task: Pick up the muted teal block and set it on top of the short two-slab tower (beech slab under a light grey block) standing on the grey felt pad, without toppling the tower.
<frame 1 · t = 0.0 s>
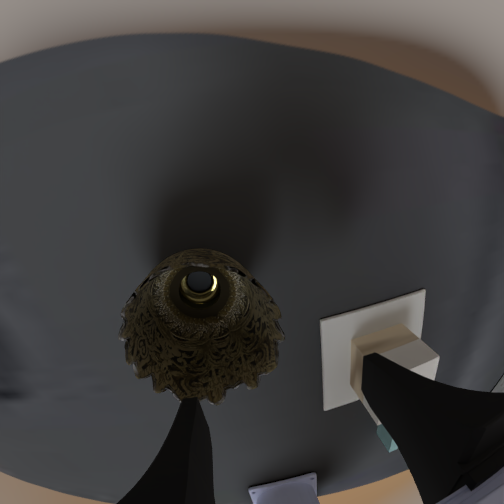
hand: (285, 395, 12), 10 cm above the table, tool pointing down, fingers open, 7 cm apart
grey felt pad: (374, 353, 25), on the table
teal block: (397, 410, 29), on the table
light grey block: (391, 372, 22), point 3 cm above the table, touching beech slab
skincare box: (500, 385, 34), on the table
beech slab: (376, 354, 25), resting on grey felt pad, touching light grey block
olive lace dome: (199, 279, 21), on the table
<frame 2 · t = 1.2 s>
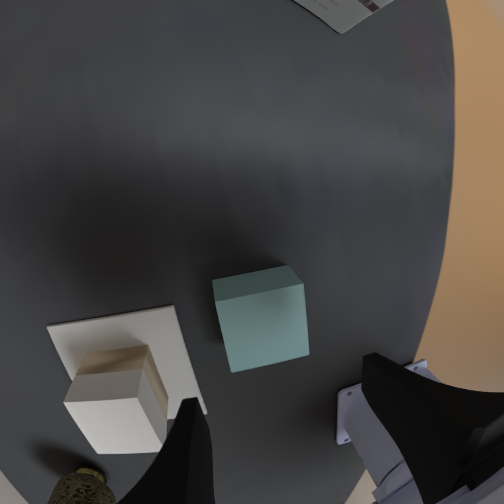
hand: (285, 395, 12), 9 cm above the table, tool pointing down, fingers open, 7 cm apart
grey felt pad: (128, 374, 21), on the table
teal block: (255, 305, 21), on the table
light grey block: (121, 400, 18), point 3 cm above the table, touching beech slab
beech slab: (127, 376, 21), resting on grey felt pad, touching light grey block
olive lace dome: (91, 469, 24), on the table
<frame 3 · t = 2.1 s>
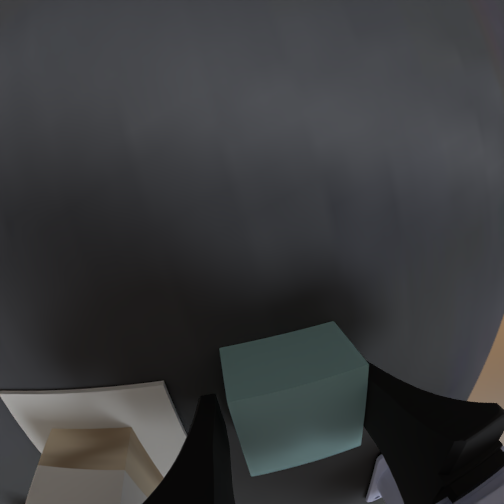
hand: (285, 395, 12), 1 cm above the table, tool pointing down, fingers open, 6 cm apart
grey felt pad: (109, 453, 14), on the table
teal block: (283, 377, 14), on the table, touching gripper
light grey block: (101, 495, 11), point 3 cm above the table, touching beech slab
beech slab: (108, 457, 13), resting on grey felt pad, touching light grey block
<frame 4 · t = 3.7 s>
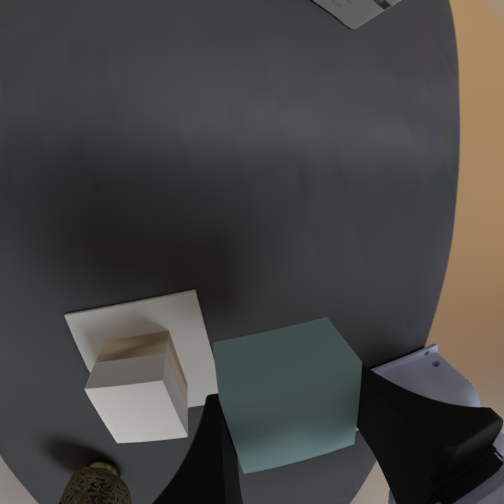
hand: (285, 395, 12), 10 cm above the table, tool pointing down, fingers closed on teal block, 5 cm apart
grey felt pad: (147, 361, 22), on the table
teal block: (277, 374, 14), point 8 cm above the table, touching gripper
light grey block: (142, 387, 19), point 3 cm above the table, touching beech slab
beech slab: (146, 363, 21), resting on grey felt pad, touching light grey block
olive lace dome: (104, 464, 25), on the table
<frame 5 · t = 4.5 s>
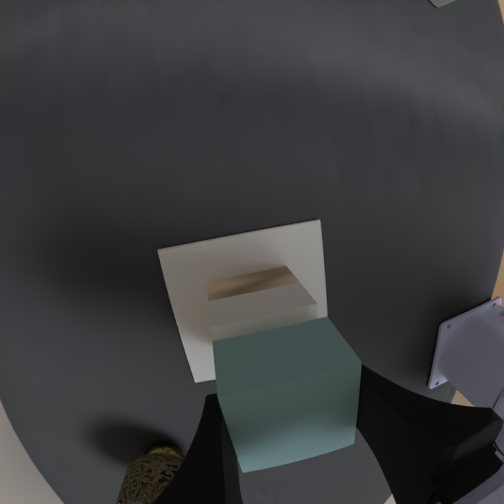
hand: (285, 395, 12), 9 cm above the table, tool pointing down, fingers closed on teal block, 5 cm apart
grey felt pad: (252, 307, 20), on the table
teal block: (277, 373, 14), point 7 cm above the table, touching gripper
light grey block: (261, 331, 17), point 3 cm above the table, touching beech slab
beech slab: (253, 309, 20), resting on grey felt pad, touching light grey block
olive lace dome: (164, 449, 23), on the table
when the fingers open (8 cm above the table, at t = 5.1 s): teal block stays where it is, resting on light grey block.
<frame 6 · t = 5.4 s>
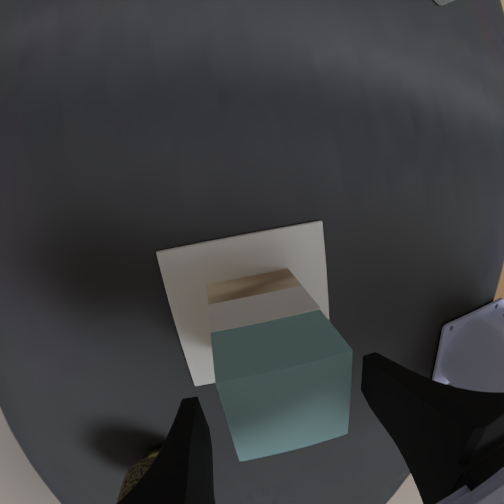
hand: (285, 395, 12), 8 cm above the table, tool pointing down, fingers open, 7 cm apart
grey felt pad: (252, 310, 20), on the table
teal block: (272, 365, 14), point 6 cm above the table, touching light grey block
light grey block: (262, 335, 17), point 3 cm above the table, touching beech slab, teal block
beech slab: (253, 312, 20), resting on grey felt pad, touching light grey block
olive lace dome: (164, 453, 23), on the table
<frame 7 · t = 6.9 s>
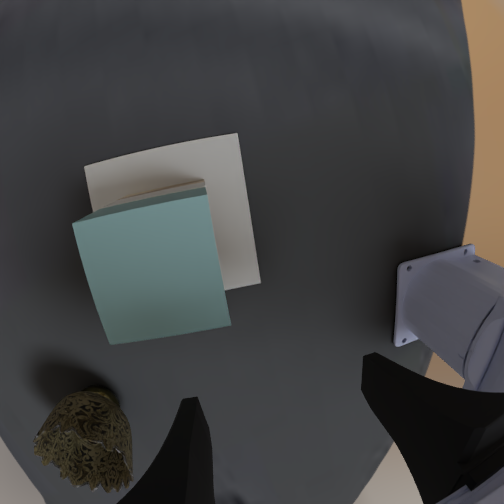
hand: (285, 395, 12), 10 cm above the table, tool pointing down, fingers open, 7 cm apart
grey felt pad: (172, 224, 20), on the table
teal block: (161, 250, 14), point 6 cm above the table, touching light grey block
light grey block: (168, 235, 17), point 3 cm above the table, touching beech slab, teal block
olive lace dome: (101, 396, 23), on the table
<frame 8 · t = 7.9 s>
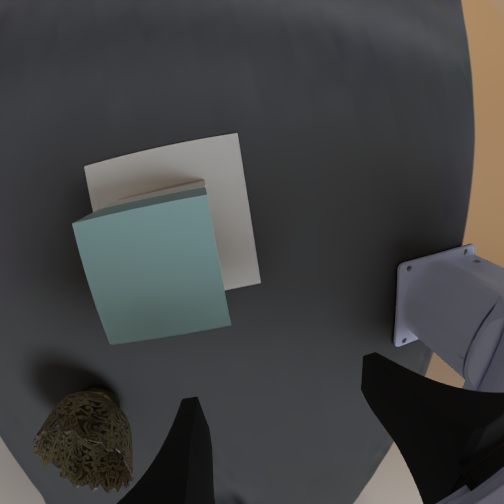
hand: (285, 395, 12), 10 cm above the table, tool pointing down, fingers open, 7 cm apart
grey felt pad: (172, 224, 20), on the table
teal block: (161, 250, 14), point 6 cm above the table, touching light grey block
light grey block: (168, 235, 17), point 3 cm above the table, touching beech slab, teal block
olive lace dome: (101, 396, 23), on the table
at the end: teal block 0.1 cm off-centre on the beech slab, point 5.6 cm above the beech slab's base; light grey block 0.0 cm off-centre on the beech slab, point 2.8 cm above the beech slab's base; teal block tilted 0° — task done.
